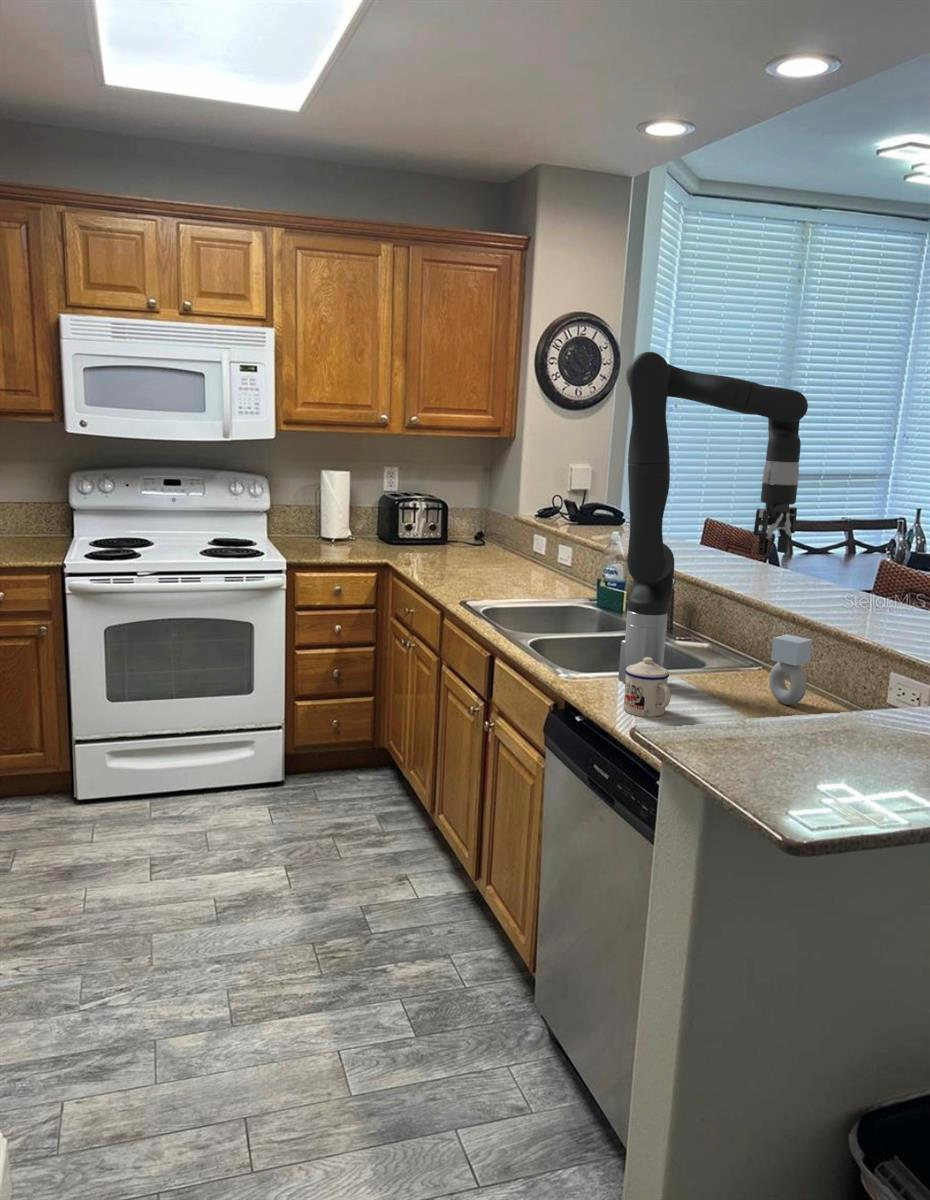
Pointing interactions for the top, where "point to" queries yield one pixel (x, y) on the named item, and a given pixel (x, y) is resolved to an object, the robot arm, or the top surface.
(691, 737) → the top surface
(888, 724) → the top surface
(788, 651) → the gray block
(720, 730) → the top surface
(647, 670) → the teacup with lid
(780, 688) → the donut
